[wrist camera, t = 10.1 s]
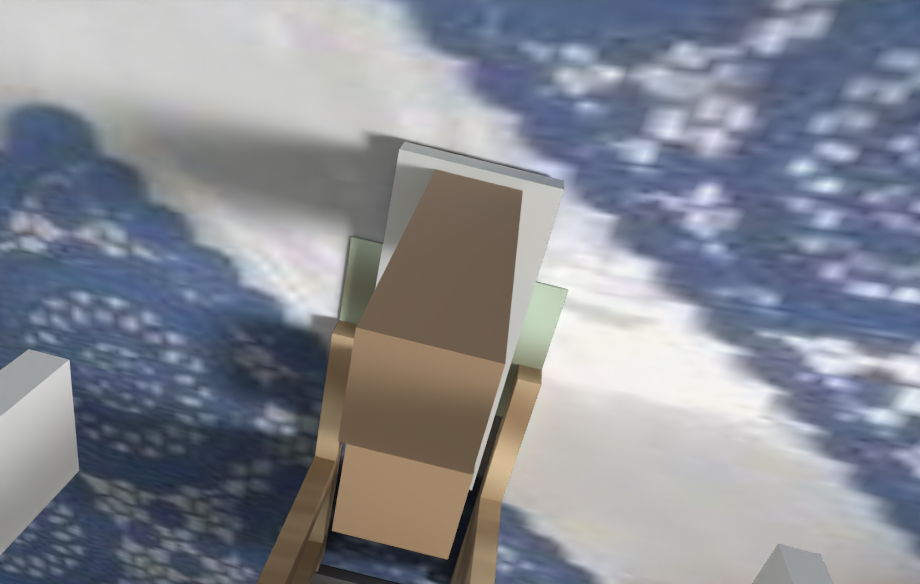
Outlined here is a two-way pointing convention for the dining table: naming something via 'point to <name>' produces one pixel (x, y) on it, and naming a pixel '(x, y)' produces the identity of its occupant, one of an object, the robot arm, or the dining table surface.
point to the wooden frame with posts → (306, 527)
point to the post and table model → (437, 343)
